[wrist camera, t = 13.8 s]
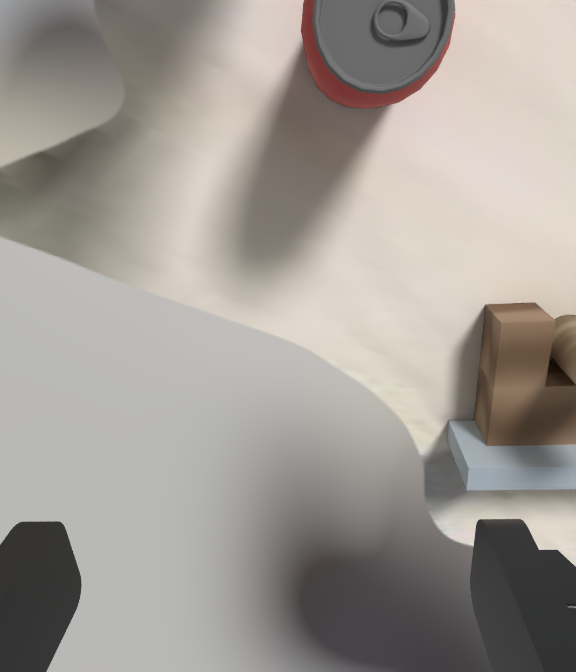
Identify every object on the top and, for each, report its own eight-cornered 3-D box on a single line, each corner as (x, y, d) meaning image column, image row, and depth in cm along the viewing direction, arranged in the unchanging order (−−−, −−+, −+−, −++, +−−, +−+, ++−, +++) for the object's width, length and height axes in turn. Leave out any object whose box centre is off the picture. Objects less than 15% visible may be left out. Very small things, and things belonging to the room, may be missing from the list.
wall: (448, 420, 41) (468, 468, 36) (655, 415, 40) (708, 464, 34) (447, 440, 42) (466, 490, 36) (649, 436, 41) (700, 487, 35)
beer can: (393, 120, 32) (432, 126, 21) (294, 92, 32) (281, 83, 21) (431, 2, 29) (497, -61, 19) (323, -31, 29) (325, -115, 18)
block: (485, 304, 37) (501, 323, 34) (658, 297, 36) (691, 315, 33) (473, 419, 41) (487, 446, 38) (628, 416, 40) (655, 443, 37)
